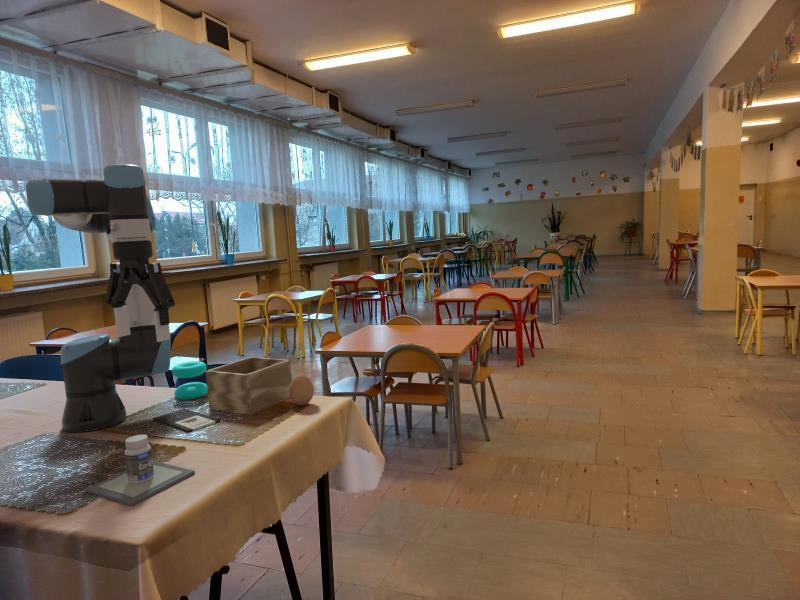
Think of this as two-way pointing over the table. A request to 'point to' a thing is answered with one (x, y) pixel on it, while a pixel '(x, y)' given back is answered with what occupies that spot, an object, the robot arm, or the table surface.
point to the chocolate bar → (186, 420)
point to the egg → (301, 390)
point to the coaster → (139, 484)
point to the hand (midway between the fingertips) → (143, 338)
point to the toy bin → (248, 384)
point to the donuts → (189, 371)
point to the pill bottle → (138, 459)
